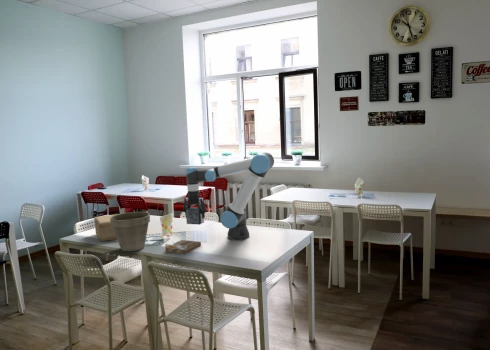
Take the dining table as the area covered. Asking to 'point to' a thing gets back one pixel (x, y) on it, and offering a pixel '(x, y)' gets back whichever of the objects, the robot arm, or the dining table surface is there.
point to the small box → (193, 215)
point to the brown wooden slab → (182, 246)
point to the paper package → (104, 228)
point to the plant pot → (131, 229)
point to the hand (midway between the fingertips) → (195, 222)
